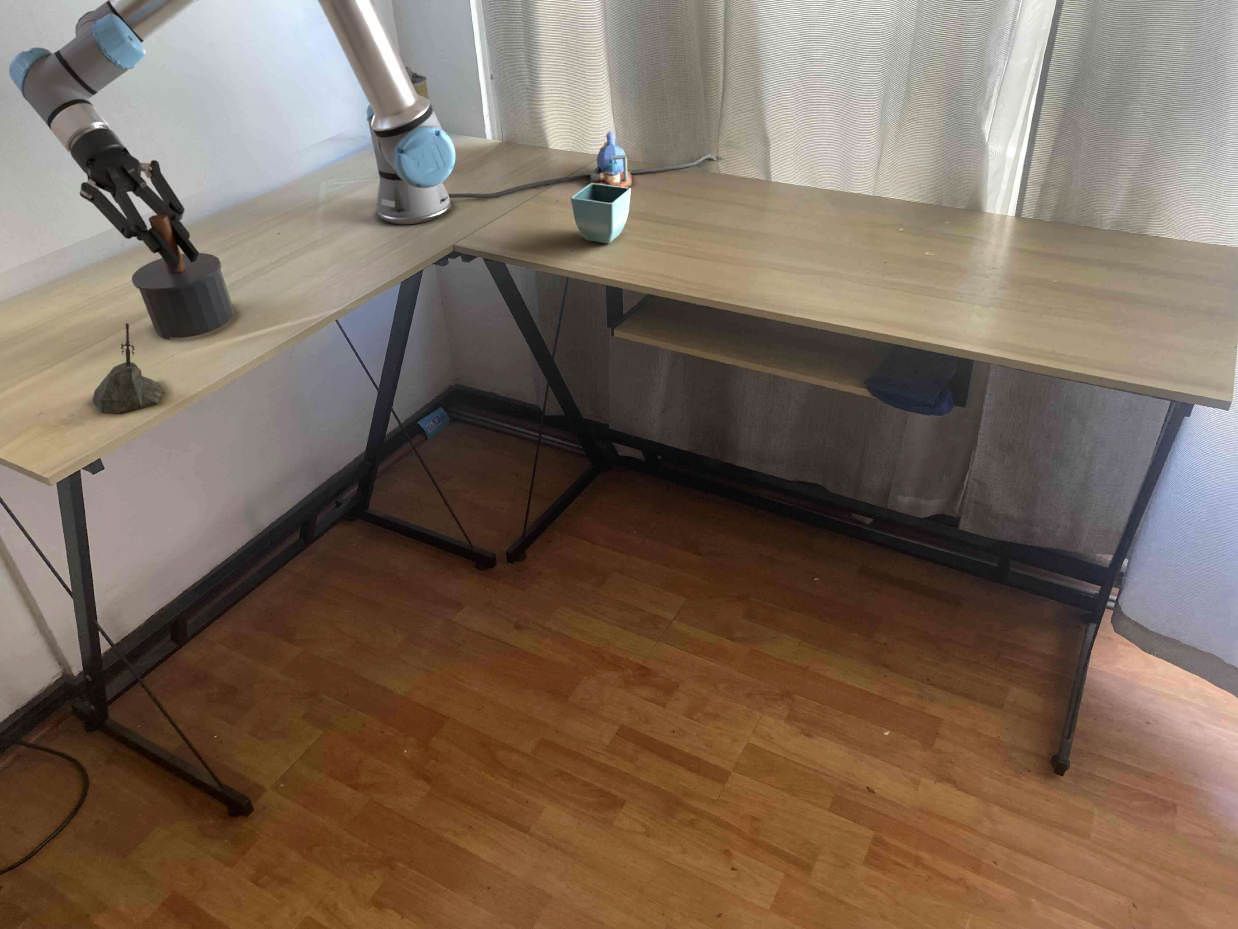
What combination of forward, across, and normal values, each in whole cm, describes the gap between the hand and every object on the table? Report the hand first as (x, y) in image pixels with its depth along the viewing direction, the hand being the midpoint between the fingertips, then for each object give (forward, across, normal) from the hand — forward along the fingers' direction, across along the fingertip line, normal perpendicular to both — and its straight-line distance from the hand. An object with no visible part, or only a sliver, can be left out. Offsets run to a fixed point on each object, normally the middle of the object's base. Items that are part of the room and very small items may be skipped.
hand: (185, 261), depth 148 cm
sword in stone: (+15, +20, -2) cm, 26 cm away
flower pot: (+34, -64, +17) cm, 74 cm away
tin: (+6, 0, -11) cm, 13 cm away
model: (+22, -90, +5) cm, 93 cm away
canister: (-16, -82, -33) cm, 90 cm away
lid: (-1, 0, -5) cm, 5 cm away
